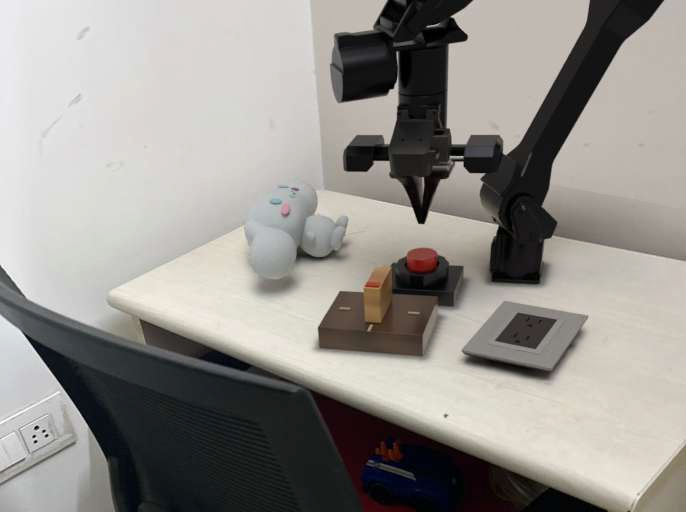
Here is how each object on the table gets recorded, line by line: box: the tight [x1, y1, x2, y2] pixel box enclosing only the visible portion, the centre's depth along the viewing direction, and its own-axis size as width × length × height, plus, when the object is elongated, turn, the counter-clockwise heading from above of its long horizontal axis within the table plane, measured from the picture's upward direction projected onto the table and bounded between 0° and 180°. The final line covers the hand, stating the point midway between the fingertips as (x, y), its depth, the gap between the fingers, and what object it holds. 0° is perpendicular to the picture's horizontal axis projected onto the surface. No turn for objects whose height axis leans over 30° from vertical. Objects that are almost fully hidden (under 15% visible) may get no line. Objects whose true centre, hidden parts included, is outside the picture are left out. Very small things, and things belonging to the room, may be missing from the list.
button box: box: [389, 254, 465, 308], centre depth 104 cm, size 10×8×4 cm
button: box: [406, 247, 438, 272], centre depth 102 cm, size 4×4×2 cm
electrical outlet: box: [461, 300, 589, 373], centre depth 91 cm, size 13×10×2 cm
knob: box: [363, 265, 392, 323], centre depth 94 cm, size 6×2×5 cm, turn 162°
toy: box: [243, 179, 349, 280], centre depth 116 cm, size 30×10×15 cm
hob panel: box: [317, 290, 439, 357], centre depth 97 cm, size 13×10×3 cm
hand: (422, 223), depth 99 cm, fingers closed
